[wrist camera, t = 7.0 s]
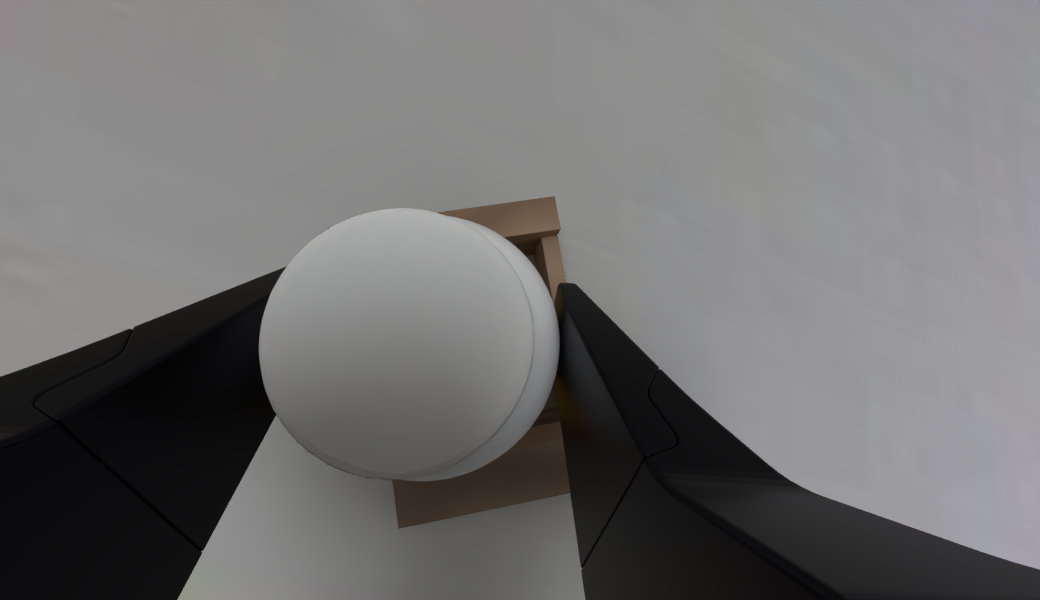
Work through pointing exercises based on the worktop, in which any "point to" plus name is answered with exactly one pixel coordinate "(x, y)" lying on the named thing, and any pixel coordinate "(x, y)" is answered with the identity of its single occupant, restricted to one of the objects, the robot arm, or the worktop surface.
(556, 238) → the open wooden box
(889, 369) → the worktop surface
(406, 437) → the supplement bottle
